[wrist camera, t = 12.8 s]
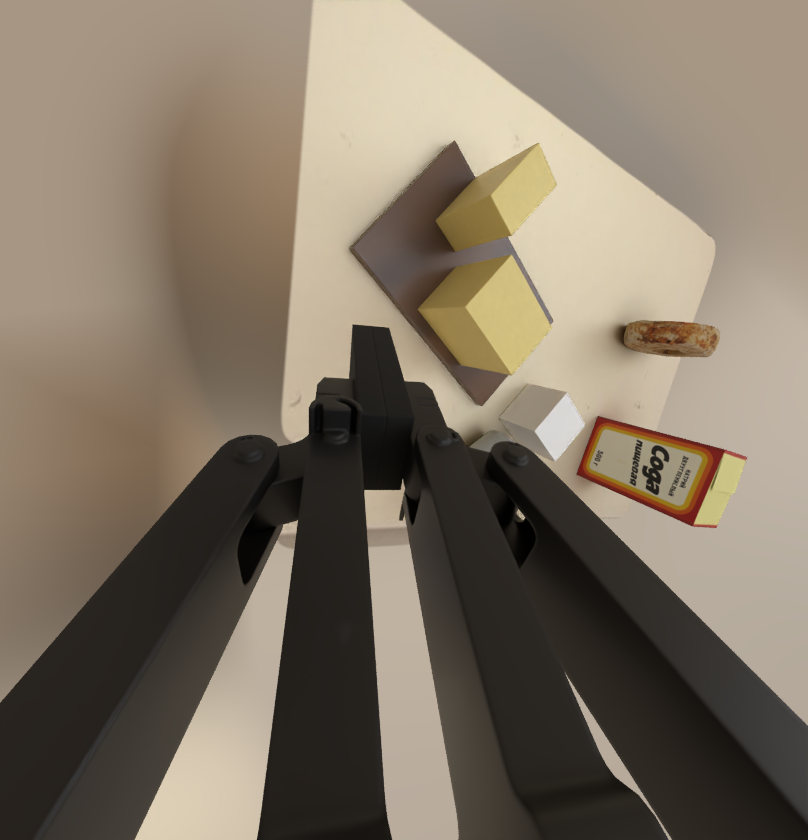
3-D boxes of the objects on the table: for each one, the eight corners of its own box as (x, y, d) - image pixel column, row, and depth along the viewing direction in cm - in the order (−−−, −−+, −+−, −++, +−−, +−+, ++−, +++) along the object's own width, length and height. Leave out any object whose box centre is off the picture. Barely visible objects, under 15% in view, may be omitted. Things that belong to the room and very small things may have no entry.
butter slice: (434, 220, 33) (490, 194, 26) (474, 177, 34) (539, 141, 27) (455, 252, 35) (511, 235, 28) (492, 210, 35) (557, 184, 28)
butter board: (349, 248, 31) (352, 246, 30) (448, 144, 33) (454, 140, 32) (476, 404, 42) (482, 406, 41) (547, 320, 44) (553, 320, 43)
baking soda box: (600, 478, 57) (719, 529, 43) (576, 474, 54) (696, 528, 40) (621, 423, 56) (751, 458, 42) (598, 416, 53) (729, 450, 39)
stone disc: (606, 342, 50) (687, 348, 41) (615, 316, 49) (698, 315, 40) (646, 357, 54) (725, 365, 46) (654, 333, 54) (736, 337, 45)
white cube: (519, 446, 47) (555, 462, 42) (498, 417, 44) (534, 431, 39) (546, 413, 48) (585, 425, 43) (528, 383, 45) (567, 392, 40)
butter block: (417, 309, 34) (465, 306, 27) (455, 266, 35) (512, 254, 28) (460, 365, 38) (512, 375, 31) (494, 326, 39) (552, 327, 32)
